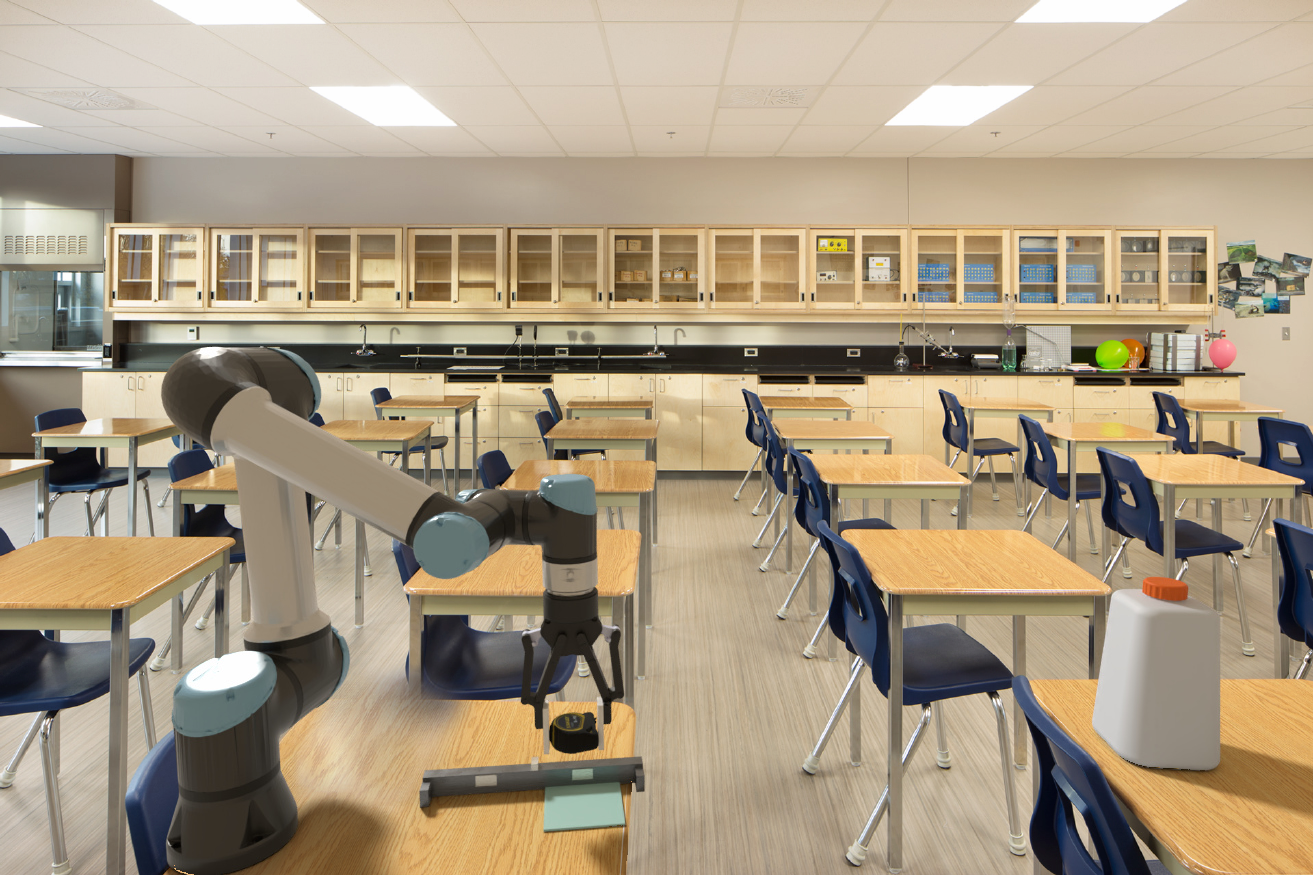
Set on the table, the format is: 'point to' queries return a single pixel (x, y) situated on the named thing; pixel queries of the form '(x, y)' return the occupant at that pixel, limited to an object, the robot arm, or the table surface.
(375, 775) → the table surface
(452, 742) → the table surface
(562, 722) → the tape measure
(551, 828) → the pad
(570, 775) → the rail
